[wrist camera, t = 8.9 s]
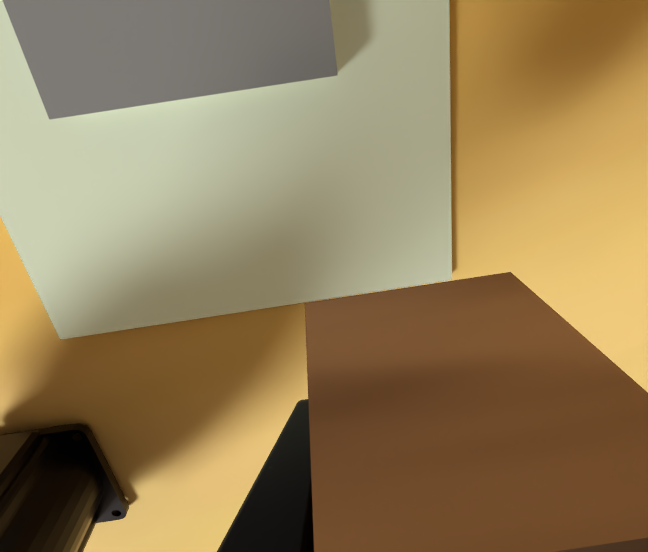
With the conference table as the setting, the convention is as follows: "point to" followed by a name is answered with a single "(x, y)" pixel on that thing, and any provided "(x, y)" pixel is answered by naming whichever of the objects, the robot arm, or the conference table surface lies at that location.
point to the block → (470, 426)
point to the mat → (238, 183)
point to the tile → (167, 49)
